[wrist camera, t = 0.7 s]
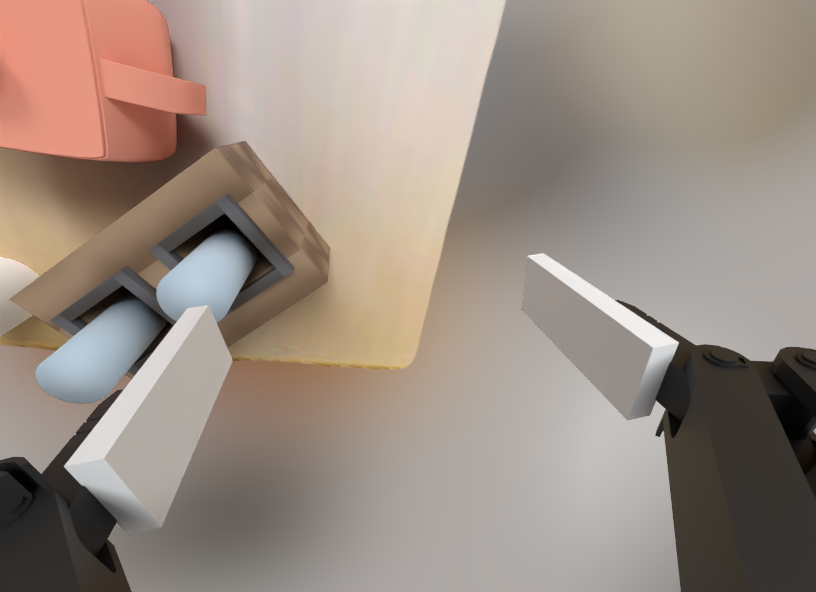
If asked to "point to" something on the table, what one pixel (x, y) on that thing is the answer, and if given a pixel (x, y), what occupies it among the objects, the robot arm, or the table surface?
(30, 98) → the teapot
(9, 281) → the cylindrical container
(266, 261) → the wooden peg block
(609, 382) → the robot arm
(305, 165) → the table surface
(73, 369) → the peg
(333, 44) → the table surface
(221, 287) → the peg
